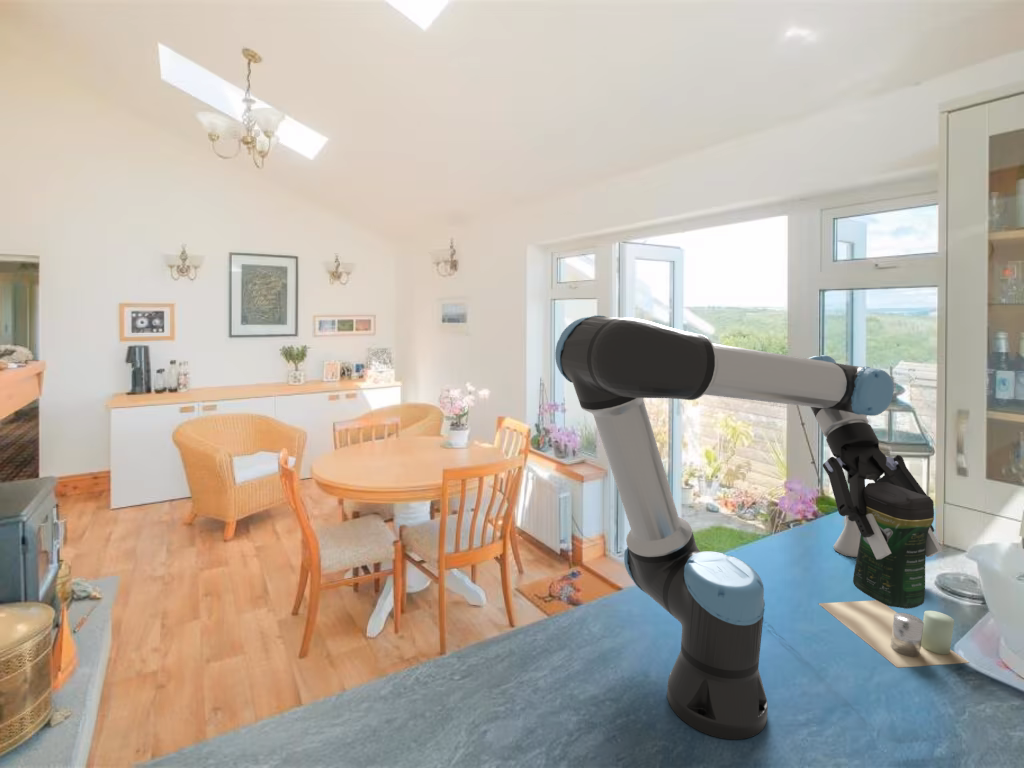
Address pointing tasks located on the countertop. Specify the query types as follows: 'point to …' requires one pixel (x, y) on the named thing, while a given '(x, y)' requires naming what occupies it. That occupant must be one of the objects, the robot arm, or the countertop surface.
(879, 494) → the coffee jar
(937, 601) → the countertop surface
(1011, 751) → the countertop surface
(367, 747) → the countertop surface
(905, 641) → the shiny silver cylinder
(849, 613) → the birch board
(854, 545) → the flask
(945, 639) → the sage tin
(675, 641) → the countertop surface
